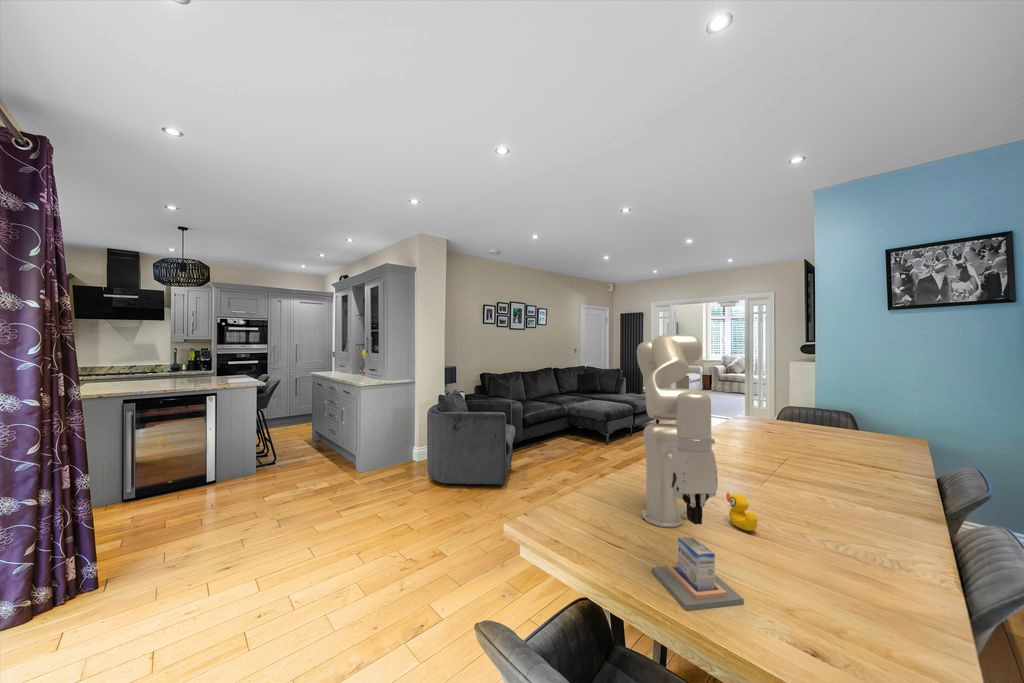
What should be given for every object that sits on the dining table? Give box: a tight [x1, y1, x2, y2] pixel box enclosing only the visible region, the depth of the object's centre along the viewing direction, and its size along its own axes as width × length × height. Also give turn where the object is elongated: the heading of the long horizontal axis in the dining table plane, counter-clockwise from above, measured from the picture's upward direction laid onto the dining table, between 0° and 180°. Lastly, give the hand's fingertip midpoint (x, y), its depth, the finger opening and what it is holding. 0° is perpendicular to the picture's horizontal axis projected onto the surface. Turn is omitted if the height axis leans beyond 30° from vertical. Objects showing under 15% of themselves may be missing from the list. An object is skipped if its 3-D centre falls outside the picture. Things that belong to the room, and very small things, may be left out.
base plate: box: [651, 563, 745, 612], centre depth 87 cm, size 14×14×2 cm
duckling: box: [725, 492, 758, 532], centre depth 118 cm, size 11×5×10 cm, turn 10°
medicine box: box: [677, 536, 716, 592], centre depth 88 cm, size 8×4×9 cm, turn 10°
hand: (694, 521), depth 87 cm, fingers closed
